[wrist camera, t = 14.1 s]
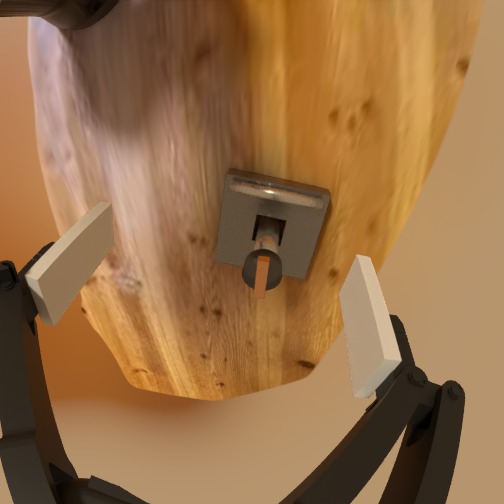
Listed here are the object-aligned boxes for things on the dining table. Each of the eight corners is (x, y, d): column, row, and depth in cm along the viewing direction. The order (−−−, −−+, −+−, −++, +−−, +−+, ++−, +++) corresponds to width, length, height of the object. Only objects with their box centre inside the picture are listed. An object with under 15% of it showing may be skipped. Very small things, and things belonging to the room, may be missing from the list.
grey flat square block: (218, 252, 49) (212, 267, 45) (229, 168, 41) (223, 177, 38) (304, 270, 48) (304, 285, 45) (328, 189, 41) (332, 200, 37)
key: (256, 205, 44) (242, 258, 32) (286, 209, 43) (284, 264, 31) (253, 235, 46) (239, 295, 34) (282, 239, 46) (278, 300, 34)
